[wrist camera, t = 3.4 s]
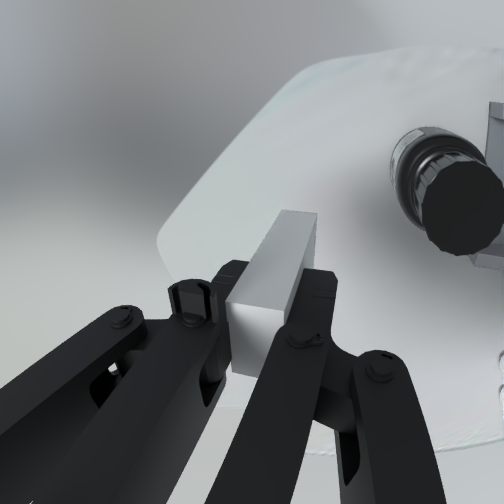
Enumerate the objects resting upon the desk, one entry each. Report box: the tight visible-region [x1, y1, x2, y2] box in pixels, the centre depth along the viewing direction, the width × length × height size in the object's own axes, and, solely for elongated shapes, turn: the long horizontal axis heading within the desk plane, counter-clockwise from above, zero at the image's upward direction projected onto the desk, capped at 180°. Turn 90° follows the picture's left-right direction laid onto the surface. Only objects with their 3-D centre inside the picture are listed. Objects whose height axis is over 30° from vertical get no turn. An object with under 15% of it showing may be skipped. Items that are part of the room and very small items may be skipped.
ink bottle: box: [390, 127, 504, 256], centre depth 22 cm, size 10×9×12 cm
